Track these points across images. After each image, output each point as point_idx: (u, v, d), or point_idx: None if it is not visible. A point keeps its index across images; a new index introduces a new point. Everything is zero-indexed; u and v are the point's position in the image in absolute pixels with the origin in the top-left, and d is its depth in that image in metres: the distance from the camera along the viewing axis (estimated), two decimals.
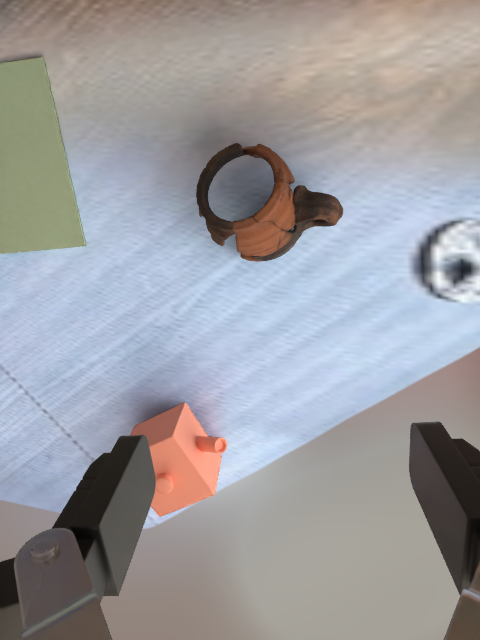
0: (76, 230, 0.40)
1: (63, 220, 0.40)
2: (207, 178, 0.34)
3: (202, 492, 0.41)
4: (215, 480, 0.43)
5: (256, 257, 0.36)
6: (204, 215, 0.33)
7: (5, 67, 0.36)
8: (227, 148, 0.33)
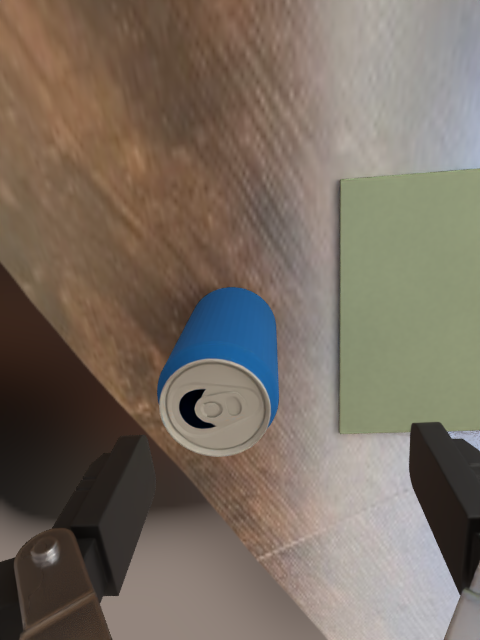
0: None
1: None
2: None
3: None
4: None
5: None
6: None
7: (346, 230, 0.29)
8: None
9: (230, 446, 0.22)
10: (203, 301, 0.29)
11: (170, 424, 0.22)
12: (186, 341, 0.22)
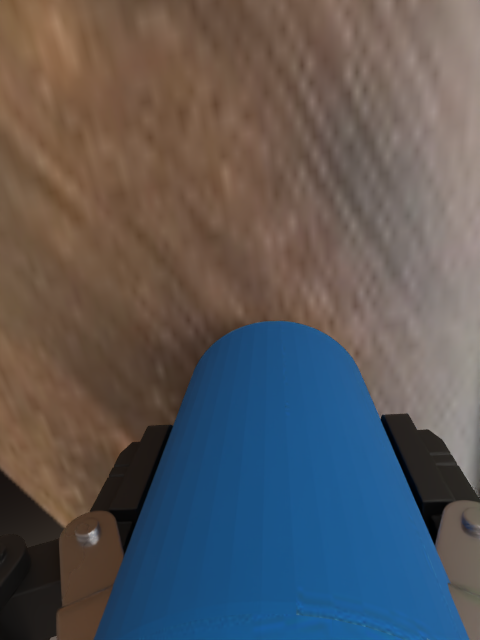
0: None
1: None
2: None
3: None
4: None
5: None
6: None
7: None
8: None
9: None
10: (215, 356, 0.13)
11: None
12: (167, 557, 0.06)
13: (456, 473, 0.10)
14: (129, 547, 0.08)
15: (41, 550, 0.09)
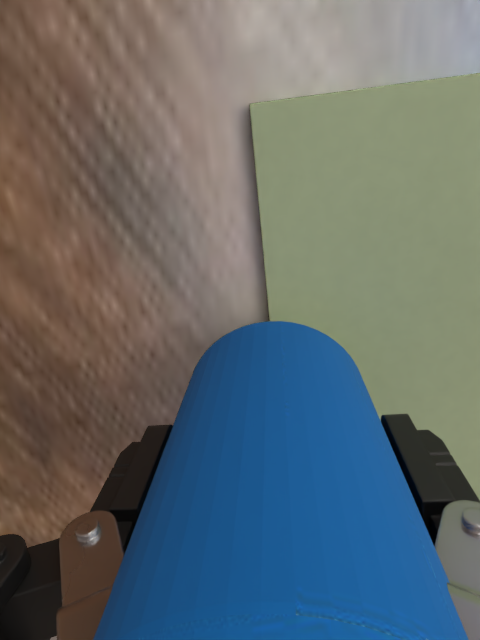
0: None
1: None
2: None
3: None
4: None
5: None
6: None
7: (271, 210, 0.14)
8: None
9: None
10: (215, 356, 0.13)
11: None
12: (166, 557, 0.06)
13: (456, 473, 0.10)
14: (129, 547, 0.08)
15: (40, 550, 0.09)
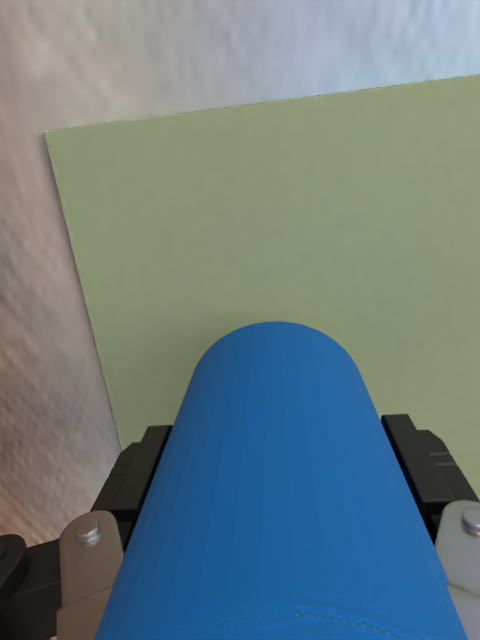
0: None
1: (457, 132, 0.13)
2: None
3: None
4: None
5: None
6: None
7: (78, 231, 0.15)
8: None
9: None
10: (215, 356, 0.13)
11: None
12: (166, 557, 0.06)
13: (456, 473, 0.10)
14: (129, 547, 0.08)
15: (40, 550, 0.09)
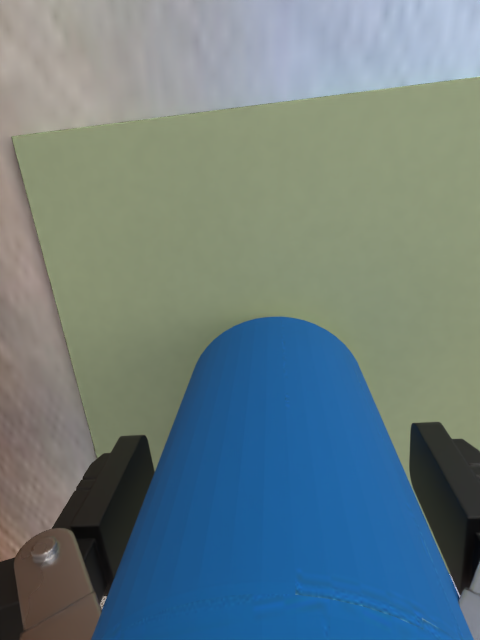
0: (469, 96, 0.12)
1: (431, 139, 0.13)
2: None
3: None
4: None
5: None
6: None
7: (49, 237, 0.15)
8: None
9: None
10: (216, 351, 0.13)
11: None
12: (169, 542, 0.06)
13: None
14: (132, 535, 0.08)
15: None
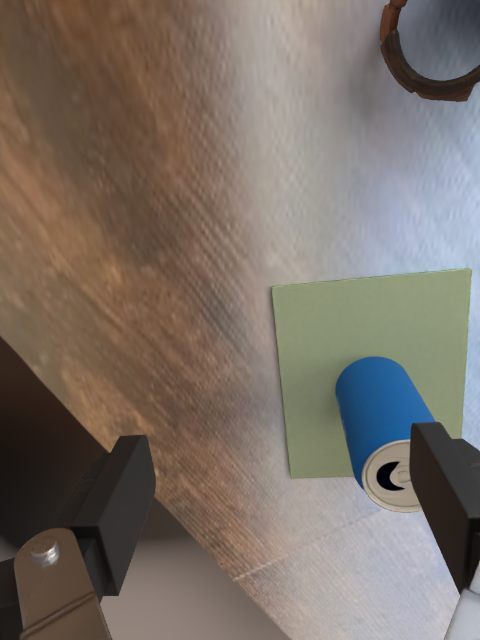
0: (451, 276, 0.34)
1: (437, 290, 0.34)
2: (426, 80, 0.26)
3: None
4: None
5: None
6: None
7: (280, 324, 0.37)
8: (389, 54, 0.26)
9: (415, 504, 0.27)
10: (354, 371, 0.35)
11: (367, 487, 0.27)
12: (375, 420, 0.28)
13: None
14: (355, 424, 0.29)
15: None
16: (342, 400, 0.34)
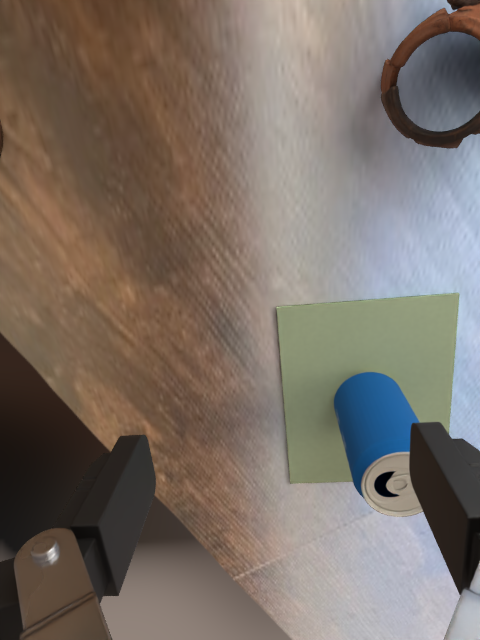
0: (441, 300, 0.37)
1: (428, 312, 0.37)
2: (422, 131, 0.29)
3: None
4: None
5: None
6: (473, 130, 0.27)
7: (283, 341, 0.39)
8: (389, 107, 0.29)
9: (408, 509, 0.31)
10: (352, 385, 0.38)
11: (366, 494, 0.30)
12: (373, 433, 0.31)
13: None
14: (355, 436, 0.32)
15: None
16: (341, 413, 0.37)
